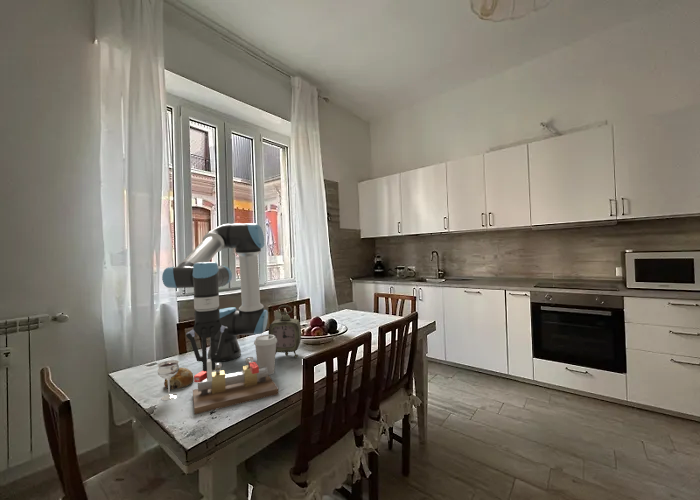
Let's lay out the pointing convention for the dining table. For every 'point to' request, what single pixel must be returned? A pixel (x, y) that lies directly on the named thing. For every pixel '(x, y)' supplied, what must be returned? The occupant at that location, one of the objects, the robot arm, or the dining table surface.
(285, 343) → the tabletop clock
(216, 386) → the manifold pipe
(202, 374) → the valve lever
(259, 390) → the valve board
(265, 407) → the dining table surface
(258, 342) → the coffee cup
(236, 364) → the dining table surface
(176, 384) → the bread roll
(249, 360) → the valve lever
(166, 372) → the wineglass
